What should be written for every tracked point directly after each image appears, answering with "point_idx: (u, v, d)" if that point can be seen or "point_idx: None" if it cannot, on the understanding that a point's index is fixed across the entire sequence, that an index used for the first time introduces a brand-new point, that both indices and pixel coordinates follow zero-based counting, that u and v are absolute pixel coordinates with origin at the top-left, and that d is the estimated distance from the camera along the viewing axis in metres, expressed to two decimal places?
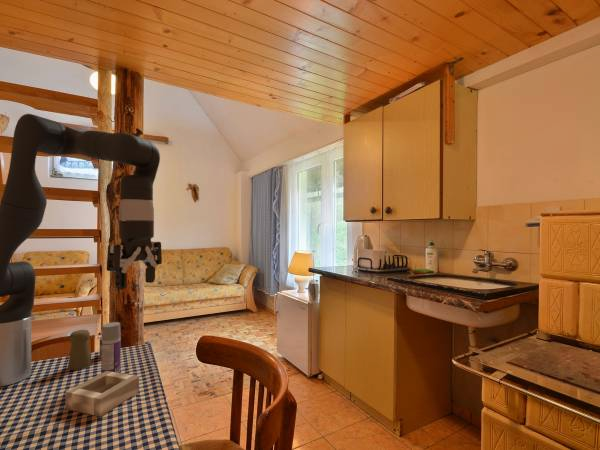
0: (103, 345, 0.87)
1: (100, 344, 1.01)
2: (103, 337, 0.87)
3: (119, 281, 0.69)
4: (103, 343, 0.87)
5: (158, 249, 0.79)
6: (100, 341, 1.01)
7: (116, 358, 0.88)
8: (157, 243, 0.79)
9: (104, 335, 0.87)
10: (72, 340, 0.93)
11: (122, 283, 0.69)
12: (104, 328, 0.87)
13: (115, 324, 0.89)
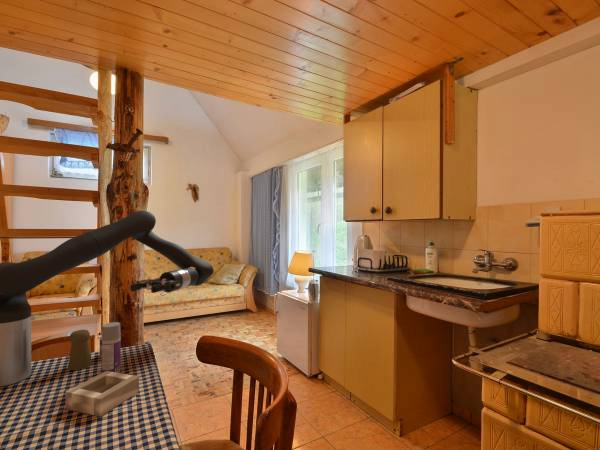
0: (103, 345, 0.87)
1: (100, 344, 1.01)
2: (103, 337, 0.87)
3: (159, 290, 1.00)
4: (103, 343, 0.87)
5: None
6: (100, 341, 1.01)
7: (116, 358, 0.88)
8: (150, 285, 1.11)
9: (104, 335, 0.87)
10: (72, 340, 0.93)
11: None
12: (104, 328, 0.87)
13: (115, 324, 0.89)
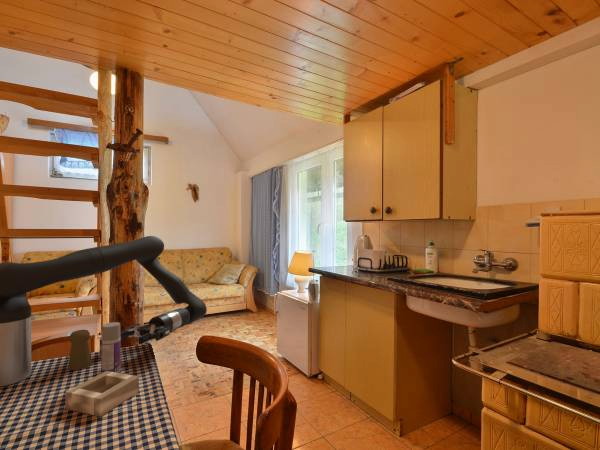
0: (103, 345, 0.87)
1: (100, 344, 1.01)
2: (103, 337, 0.87)
3: (146, 340, 0.95)
4: (103, 343, 0.87)
5: None
6: (100, 341, 1.01)
7: (116, 358, 0.88)
8: (139, 330, 1.06)
9: (104, 335, 0.87)
10: (72, 340, 0.93)
11: None
12: (104, 328, 0.87)
13: (115, 324, 0.89)
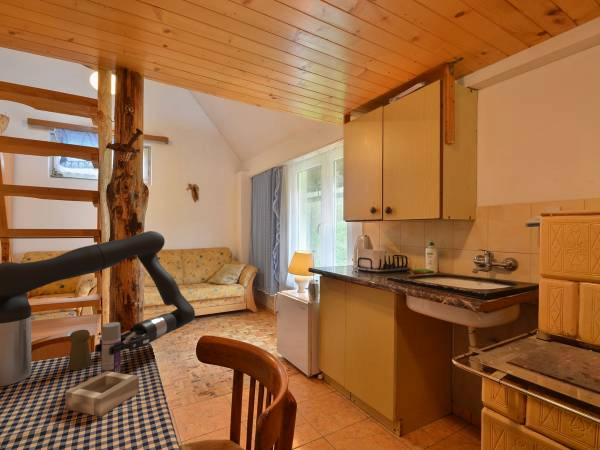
0: (103, 345, 0.87)
1: None
2: (103, 337, 0.87)
3: (118, 350, 0.87)
4: (103, 343, 0.87)
5: None
6: (100, 341, 1.01)
7: (117, 358, 0.88)
8: None
9: (104, 335, 0.87)
10: (72, 340, 0.93)
11: None
12: (104, 328, 0.87)
13: (115, 324, 0.89)
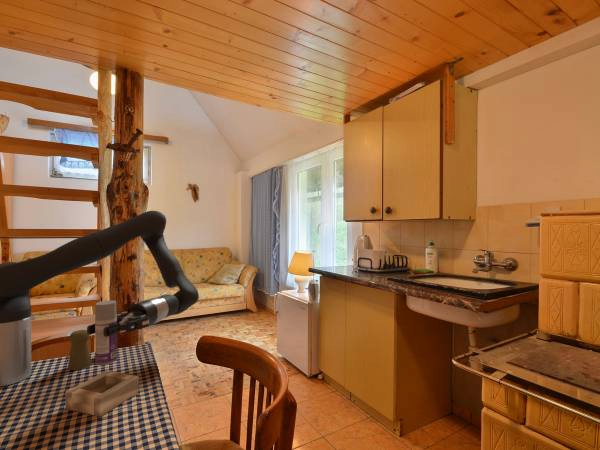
0: (97, 326, 0.76)
1: None
2: (96, 317, 0.76)
3: (114, 332, 0.76)
4: (97, 323, 0.76)
5: None
6: None
7: (112, 340, 0.77)
8: None
9: (98, 314, 0.75)
10: (72, 340, 0.93)
11: None
12: (98, 306, 0.76)
13: (110, 302, 0.78)
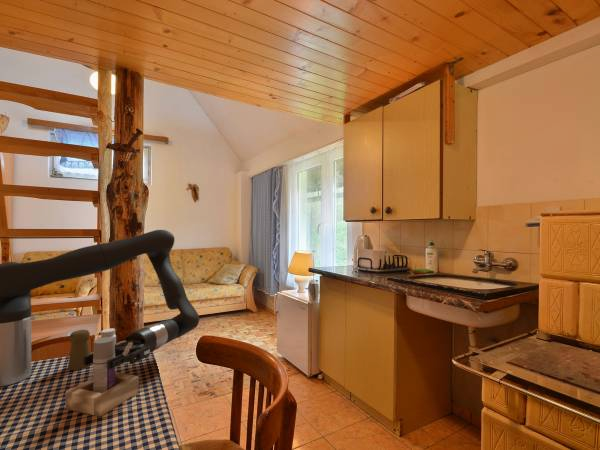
0: (94, 364, 0.75)
1: None
2: (94, 355, 0.75)
3: (118, 364, 0.75)
4: (94, 362, 0.75)
5: None
6: None
7: (110, 379, 0.76)
8: None
9: (96, 353, 0.75)
10: (72, 340, 0.93)
11: None
12: (96, 345, 0.75)
13: (108, 339, 0.77)
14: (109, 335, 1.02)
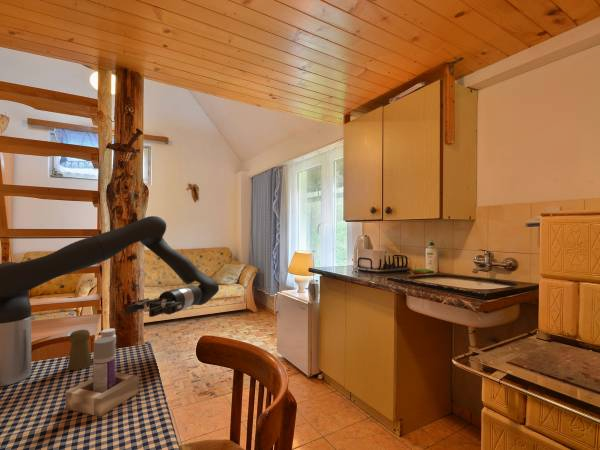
0: (95, 364, 0.75)
1: None
2: (94, 355, 0.75)
3: (158, 313, 0.87)
4: (95, 362, 0.75)
5: (144, 307, 0.97)
6: None
7: (110, 379, 0.76)
8: (148, 305, 0.98)
9: (96, 353, 0.75)
10: (72, 340, 0.93)
11: (154, 314, 0.87)
12: (96, 344, 0.75)
13: (109, 339, 0.77)
14: (109, 335, 1.02)
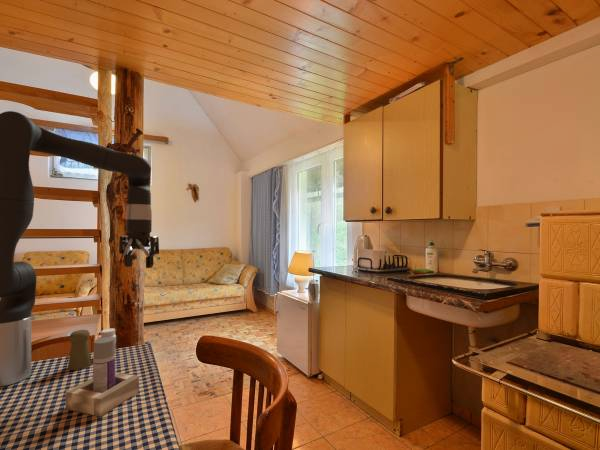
0: (95, 364, 0.75)
1: None
2: (94, 355, 0.75)
3: (152, 261, 1.00)
4: (95, 362, 0.75)
5: None
6: None
7: (110, 379, 0.76)
8: None
9: (96, 353, 0.75)
10: (72, 340, 0.93)
11: None
12: (96, 344, 0.75)
13: (109, 339, 0.77)
14: (109, 335, 1.02)
